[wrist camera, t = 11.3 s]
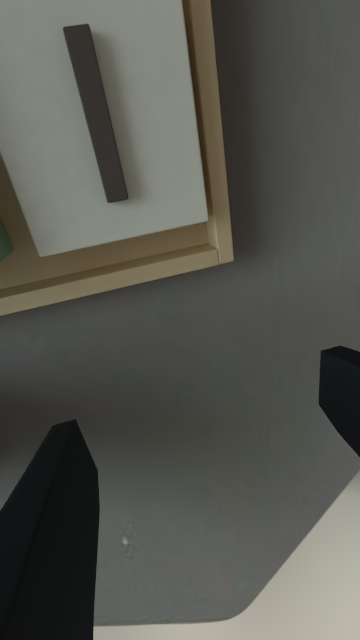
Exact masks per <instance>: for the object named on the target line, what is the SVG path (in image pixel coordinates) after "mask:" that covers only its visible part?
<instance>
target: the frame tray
mask: <svg viewBox="0 0 360 640" xmlns="http://www.w3.org/2000/svg"><path fill="white" fill-rule="evenodd" d="M182 3H183V12H184V20H185V28H186V36H187V45H188V53H189V61H190V69H191V77H192V86H193V94H194V102H195V110H196V119H197V127H198V135H199V143H200V151H201V160H202V168H203V176H204V184H205V193H206V201H207V209H208V217H209V220H208V221H207V222H203V223H198V224H193V225H189V226H184V227H179V228H175V229H170V230H165V231H161V232H156V233H151V234H147V235H142V236H138V237H133V238H128V239H124V240H119V241H114V242H110V243H105V244H100V245H96V246H91V247H86V248H82V249H77V250H72V251H68V252H63V253H58V254H54V255H49V256H45V257H40V256H39V254H38V251H37V249H36V246H35V243H34V241H33V238H32V235H31V233H30V230H29V228H28V225H27V222H26V220H25V217H24V214H23V212H22V209H21V206H20V204H19V201H18V199H17V196H16V193H15V191H14V188H13V185H12V183H11V180H10V177H9V175H8V172H7V169H6V167H5V164H4V162H3V159H2V156H1V154H0V217H1V219H2V221H3V224H4V226H5V229H6V231H7V234H8V236H9V238H10V241H11V243H12V246H13V248H14V251H13V252H11V253H10V254H9V255H8V256H7V257H6V258H4V259H3V260H2V261H1V262H0V316H2V315H6V314H11V313H15V312H19V311H24V310H28V309H32V308H36V307H41V306H45V305H49V304H54V303H58V302H62V301H66V300H71V299H75V298H79V297H84V296H88V295H92V294H96V293H101V292H105V291H109V290H114V289H118V288H122V287H126V286H131V285H135V284H139V283H144V282H148V281H152V280H157V279H161V278H165V277H169V276H174V275H178V274H182V273H187V272H191V271H195V270H199V269H204V268H208V267H212V266H217V265H219V264H224V263H228V262H232V261H234V253H233V242H232V231H231V220H230V209H229V198H228V187H227V176H226V165H225V154H224V143H223V132H222V121H221V110H220V99H219V88H218V77H217V66H216V55H215V44H214V33H213V22H212V11H211V0H182Z"/></svg>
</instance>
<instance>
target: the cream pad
mask: <svg viewBox="0 0 360 640" xmlns="http://www.w3.org/2000/svg"><path fill="white" fill-rule="evenodd" d="M0 154H1V156H2V159H3V162H4V164H5V167H6V169H7V172H8V175H9V177H10V180H11V183H12V185H13V188H14V191H15V193H16V196H17V199H18V201H19V204H20V206H21V209H22V212H23V214H24V217H25V220H26V222H27V225H28V228H29V230H30V233H31V235H32V238H33V241H34V243H35V246H36V249H37V251H38V254H39V256H40V257H45V256H49V255H54V254H58V253H63V252H68V251H72V250H77V249H82V248H86V247H91V246H96V245H100V244H105V243H110V242H114V241H119V240H124V239H128V238H133V237H138V236H142V235H147V234H151V233H156V232H161V231H165V230H170V229H175V228H179V227H184V226H189V225H193V224H198V223H203V222H207V221H208V220H209V217H208V209H207V201H206V193H205V184H204V176H203V168H202V160H201V151H200V143H199V135H198V127H197V119H196V110H195V102H194V94H193V86H192V77H191V69H190V61H189V53H188V45H187V36H186V28H185V20H184V12H183V3H182V0H0Z"/></svg>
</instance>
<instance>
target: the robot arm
mask: <svg viewBox="0 0 360 640" xmlns="http://www.w3.org/2000/svg"><path fill="white" fill-rule="evenodd" d="M319 405H320V407H321V408H322V410H323V411H324V413H325V414H326V416H327V417H328V419H329V420H330V422H331V423H332V424H333V426H334V427H335V429H336V430H337V431H338V433H339V434H340V435H341V436H342V437H343V439H344V440H345V441H346V442H347V443H348V444H349V445H350V447H351V448H352V449H353V450H354V451H355V452H356V453H357V454H358V456H359V457H360V352H358V351H355V350H352V349H349V348H346V347H342V346H337V347H333V348H330V349H326V350H323V351H321V360H320V383H319ZM99 510H100V507H99V487H98V471H97V468H96V466H95V463H94V461H93V459H92V456H91V454H90V452H89V449H88V447H87V445H86V442H85V440H84V438H83V435H82V433H81V431H80V428H79V426H78V424H77V421H76V419H75V420H71V421H68V422H64V423H60V424H57V425H53V426H52V427H51V429H50V431H49V432H48V434H47V435H46V437H45V439H44V440H43V442H42V444H41V445H40V447H39V449H38V450H37V452H36V454H35V456H34V457H33V459H32V461H31V462H30V464H29V466H28V467H27V469H26V471H25V472H24V474H23V476H22V477H21V479H20V480H19V482H18V484H17V485H16V487H15V488H14V490H13V492H12V493H11V495H10V496H9V498H8V500H7V501H6V503H5V504H4V506H3V507H2V509H1V511H0V640H93V621H94V599H95V582H96V565H97V548H98V530H99Z"/></svg>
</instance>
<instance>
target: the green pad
mask: <svg viewBox="0 0 360 640" xmlns="http://www.w3.org/2000/svg"><path fill="white" fill-rule="evenodd" d="M13 251H14V248H13V246H12V243H11V241H10V238H9V236H8V234H7V231H6V229H5V226H4V224H3V221H2V219H1V217H0V262H1V261H2V260H3V259H4V258H6V257H7V256H8V255H9V254H10V253H11V252H13Z"/></svg>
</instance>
